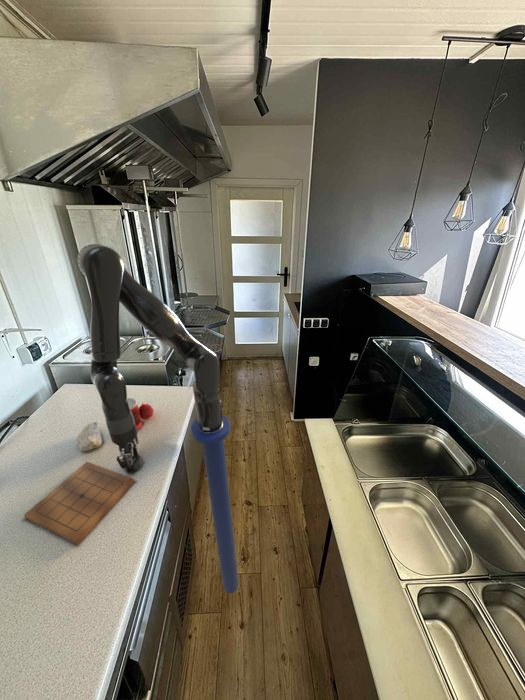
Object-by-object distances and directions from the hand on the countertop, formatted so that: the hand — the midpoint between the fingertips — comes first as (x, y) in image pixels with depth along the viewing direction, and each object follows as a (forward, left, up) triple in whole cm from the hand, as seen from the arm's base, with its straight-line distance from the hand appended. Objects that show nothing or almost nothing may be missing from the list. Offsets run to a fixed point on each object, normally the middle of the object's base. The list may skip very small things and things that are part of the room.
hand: (133, 464), depth 95 cm
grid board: (+15, -5, 0) cm, 16 cm away
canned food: (-15, -15, -1) cm, 21 cm away
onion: (-21, -12, 0) cm, 24 cm away
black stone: (0, 0, 0) cm, 0 cm away
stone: (-3, -23, -1) cm, 23 cm away
